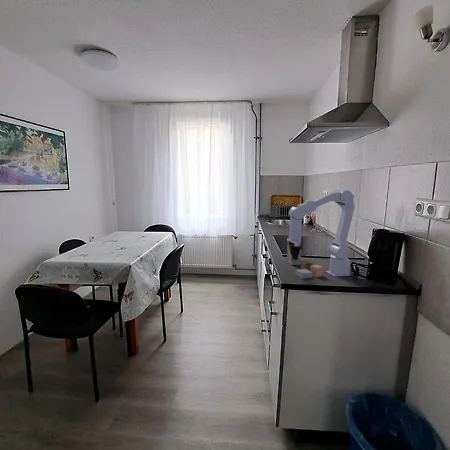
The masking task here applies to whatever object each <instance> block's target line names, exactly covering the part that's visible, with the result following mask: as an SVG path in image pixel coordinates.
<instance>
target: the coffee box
mask: <svg viewBox="0 0 450 450" xmlns="http://www.w3.org/2000/svg"><path fill="white" fill-rule="evenodd" d="M287 239H289V235H287ZM303 241H304V239H303V237H301V242H300V243H299V246H302V248H301V250H300V252H299V255H298V259H293V257H292V255H291V252H290V246H289V243H288V242H287V249H286V250H287V251H286V262H287V263H288V264H289V265H291V266H301V261H302V257H303V256H302V255H303Z"/></svg>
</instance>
